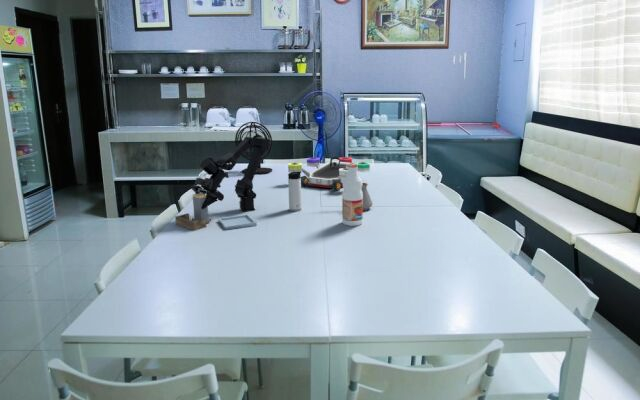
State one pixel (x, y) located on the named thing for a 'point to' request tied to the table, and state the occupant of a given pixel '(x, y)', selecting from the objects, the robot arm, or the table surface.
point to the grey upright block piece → (198, 211)
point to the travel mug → (294, 191)
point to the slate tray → (237, 222)
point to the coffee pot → (366, 197)
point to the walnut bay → (190, 222)
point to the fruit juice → (352, 197)
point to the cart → (326, 172)
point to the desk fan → (259, 169)
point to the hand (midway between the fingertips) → (198, 207)
